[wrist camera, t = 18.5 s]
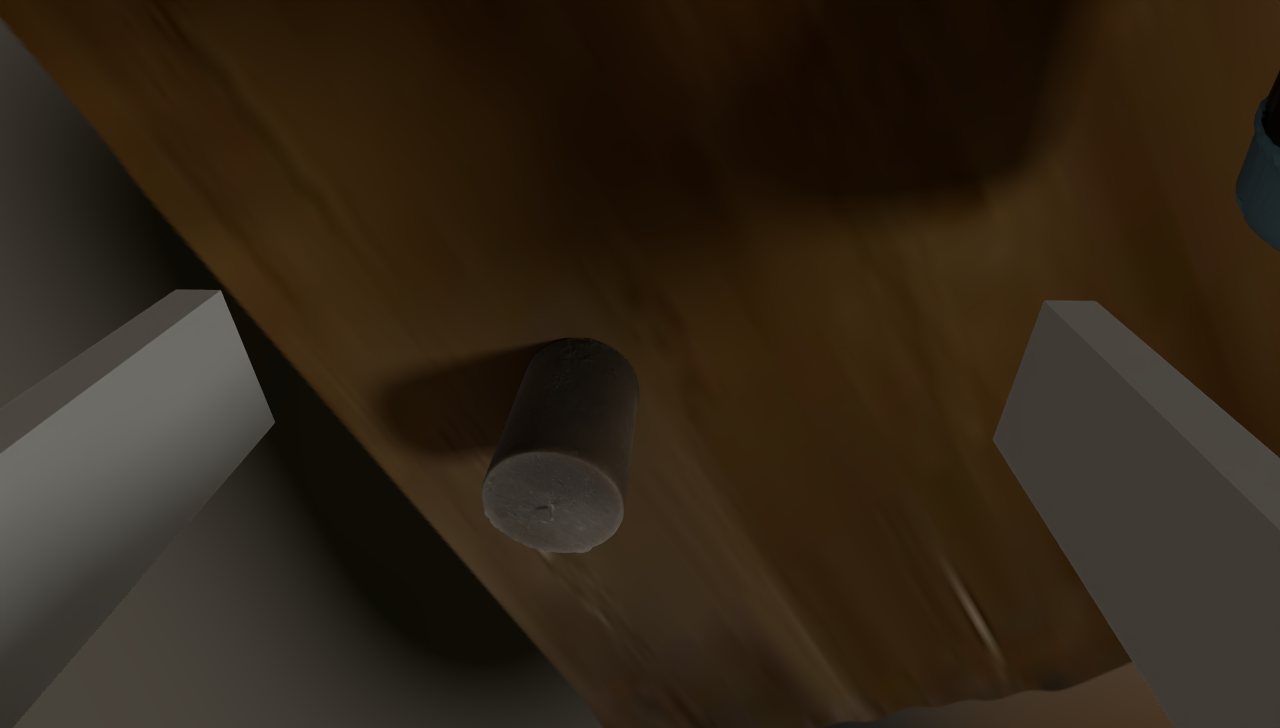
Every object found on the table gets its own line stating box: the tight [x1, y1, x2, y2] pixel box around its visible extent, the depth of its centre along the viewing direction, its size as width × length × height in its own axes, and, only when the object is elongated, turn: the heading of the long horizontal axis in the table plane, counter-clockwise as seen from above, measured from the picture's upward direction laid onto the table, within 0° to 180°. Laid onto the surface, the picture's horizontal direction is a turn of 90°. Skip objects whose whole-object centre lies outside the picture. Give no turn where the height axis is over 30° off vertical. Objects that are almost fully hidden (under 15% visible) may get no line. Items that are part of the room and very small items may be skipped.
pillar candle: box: [482, 338, 639, 553], centre depth 48 cm, size 10×10×15 cm
